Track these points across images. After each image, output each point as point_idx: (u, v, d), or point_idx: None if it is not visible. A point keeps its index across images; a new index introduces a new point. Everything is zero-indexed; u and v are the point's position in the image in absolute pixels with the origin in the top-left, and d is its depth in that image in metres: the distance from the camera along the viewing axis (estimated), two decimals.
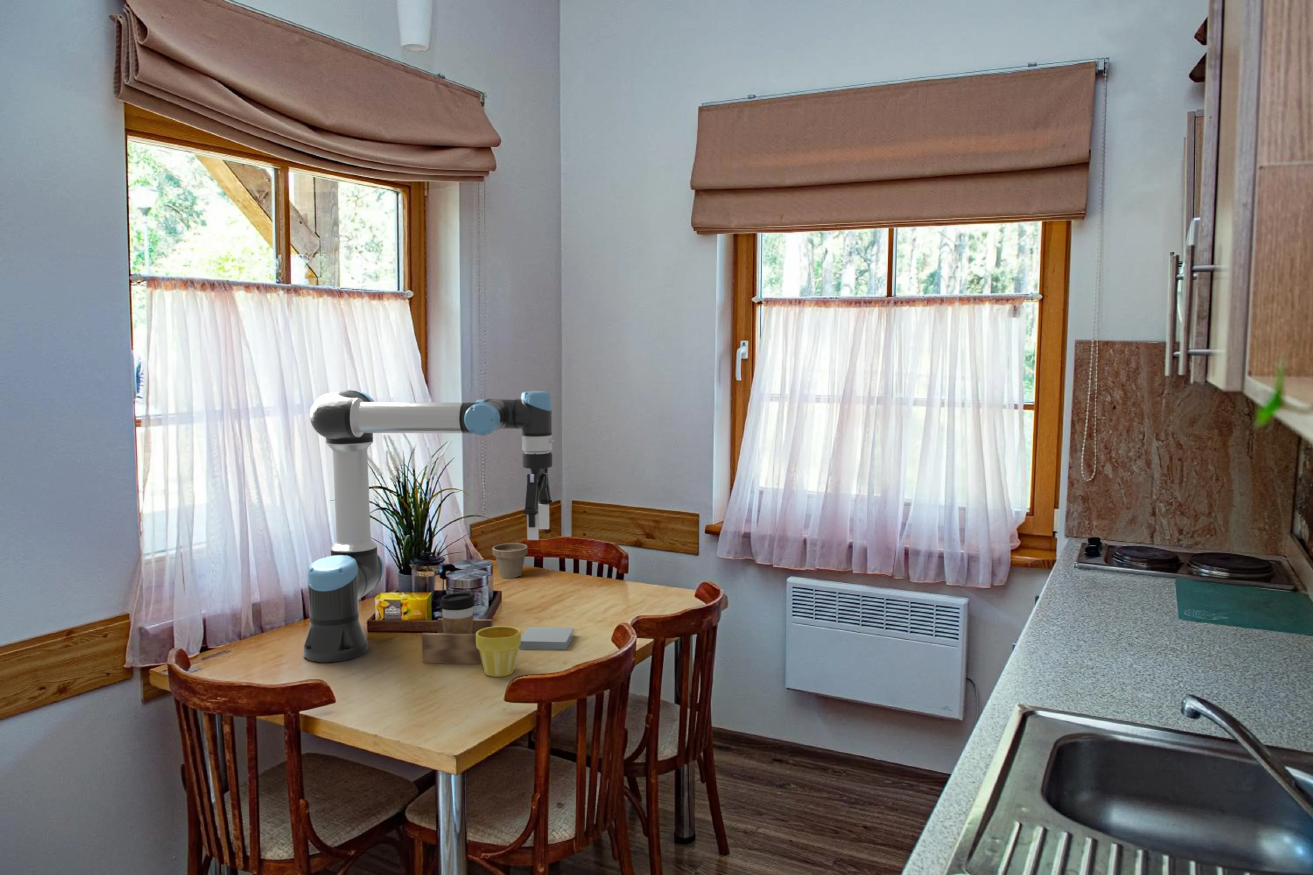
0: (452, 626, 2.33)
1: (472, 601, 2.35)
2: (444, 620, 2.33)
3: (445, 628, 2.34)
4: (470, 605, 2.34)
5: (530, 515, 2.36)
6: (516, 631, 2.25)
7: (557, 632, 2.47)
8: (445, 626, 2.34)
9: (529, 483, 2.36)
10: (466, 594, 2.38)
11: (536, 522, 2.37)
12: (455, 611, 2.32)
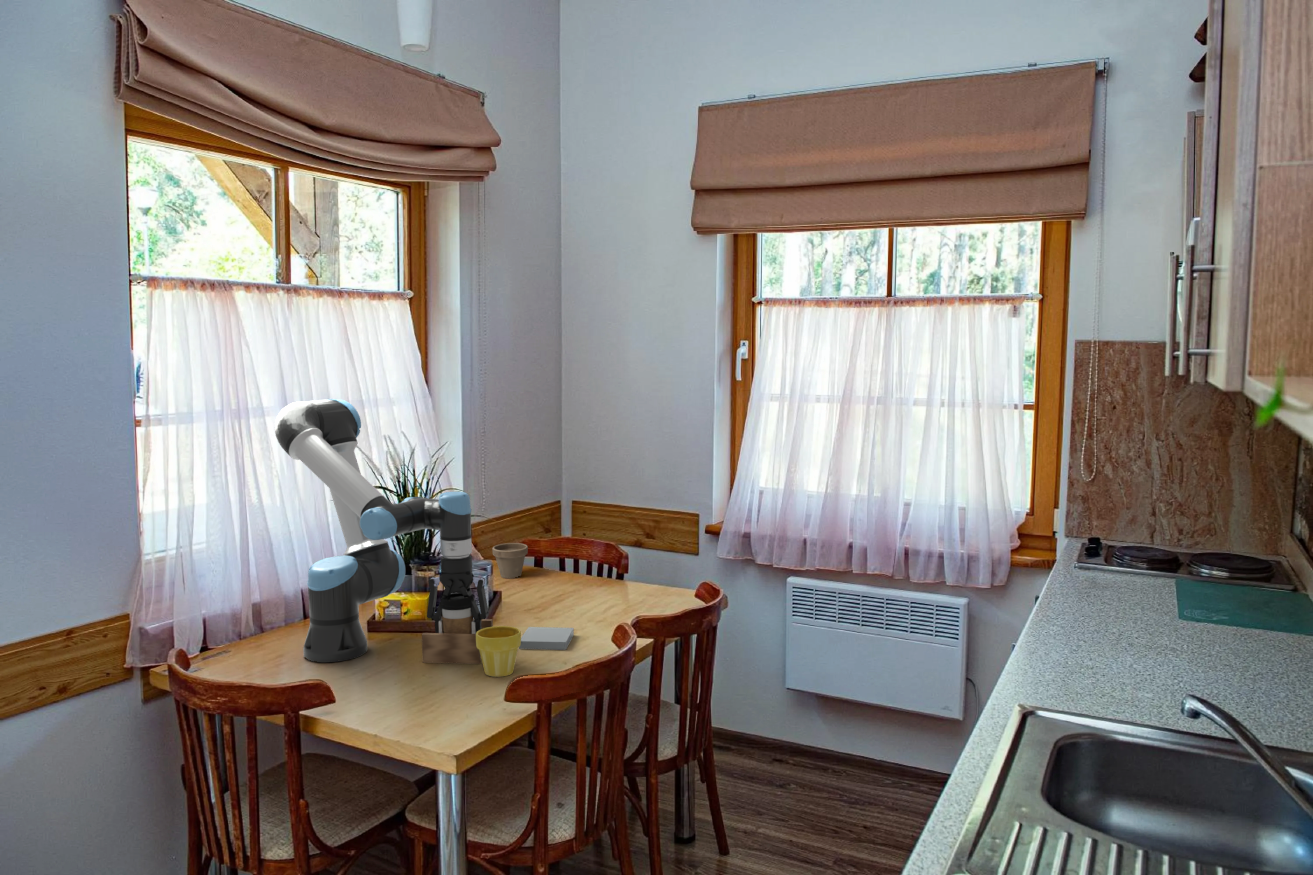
0: (452, 626, 2.33)
1: (472, 601, 2.35)
2: (444, 620, 2.33)
3: (445, 628, 2.34)
4: (470, 605, 2.34)
5: None
6: (516, 631, 2.25)
7: (557, 632, 2.47)
8: (445, 626, 2.34)
9: None
10: None
11: None
12: (455, 611, 2.32)
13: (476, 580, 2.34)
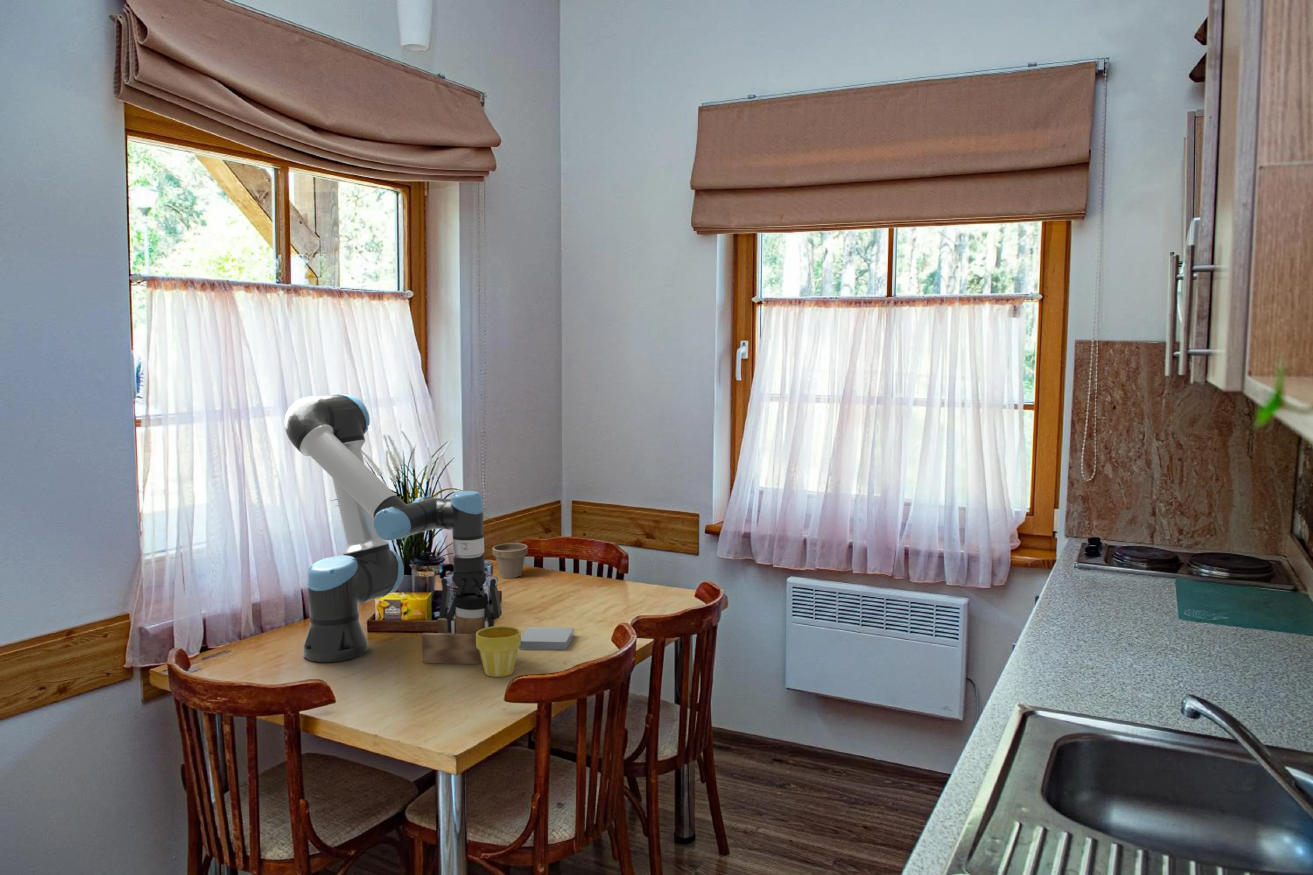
0: (465, 625, 2.32)
1: (486, 602, 2.34)
2: (457, 618, 2.33)
3: (457, 626, 2.33)
4: (484, 605, 2.33)
5: None
6: (516, 631, 2.25)
7: (557, 632, 2.47)
8: (458, 624, 2.33)
9: None
10: None
11: None
12: (469, 610, 2.31)
13: (489, 579, 2.34)
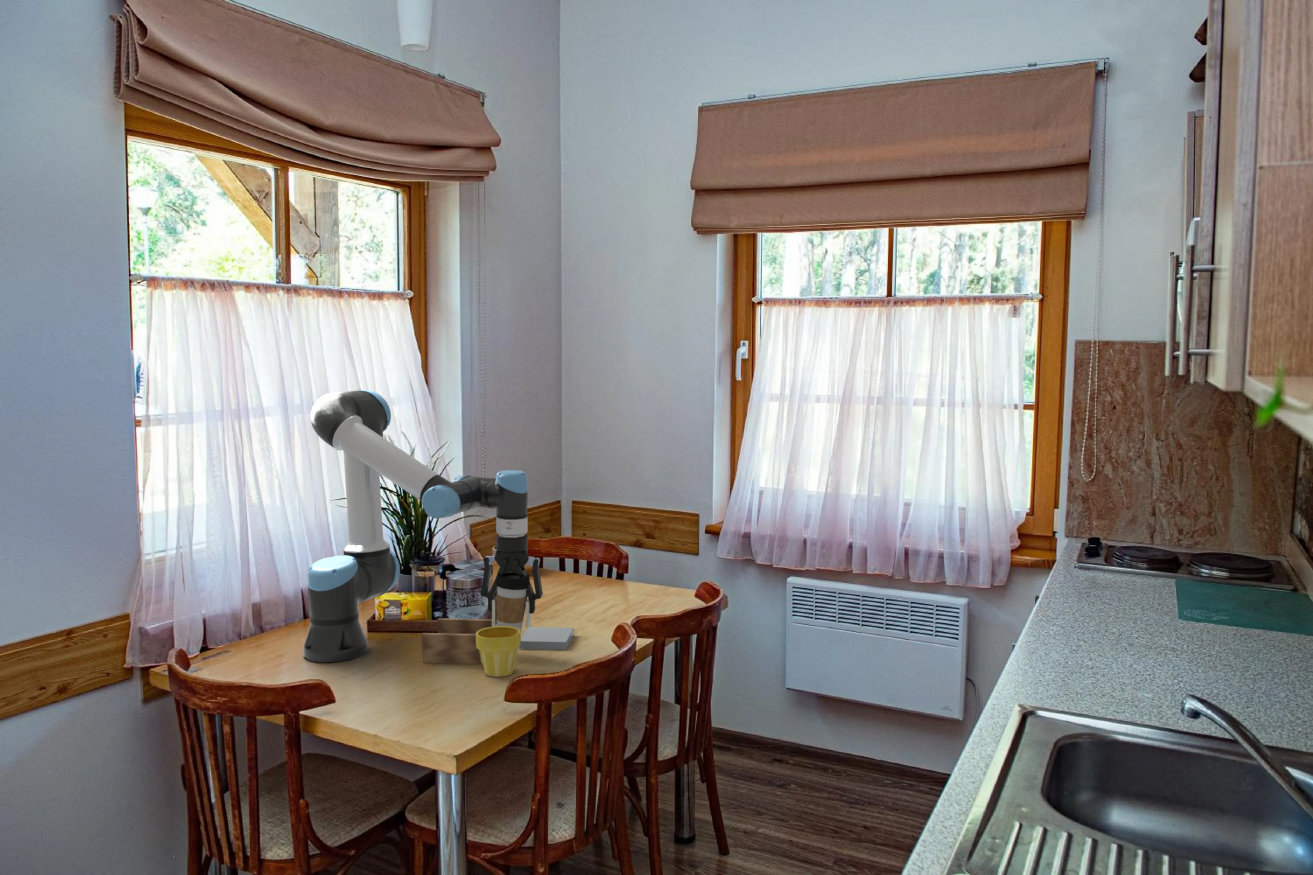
0: (506, 605, 2.31)
1: (528, 582, 2.33)
2: (498, 598, 2.32)
3: (498, 606, 2.32)
4: (526, 586, 2.32)
5: None
6: (516, 631, 2.25)
7: (557, 632, 2.47)
8: (499, 604, 2.32)
9: None
10: None
11: None
12: (510, 590, 2.30)
13: (531, 560, 2.33)
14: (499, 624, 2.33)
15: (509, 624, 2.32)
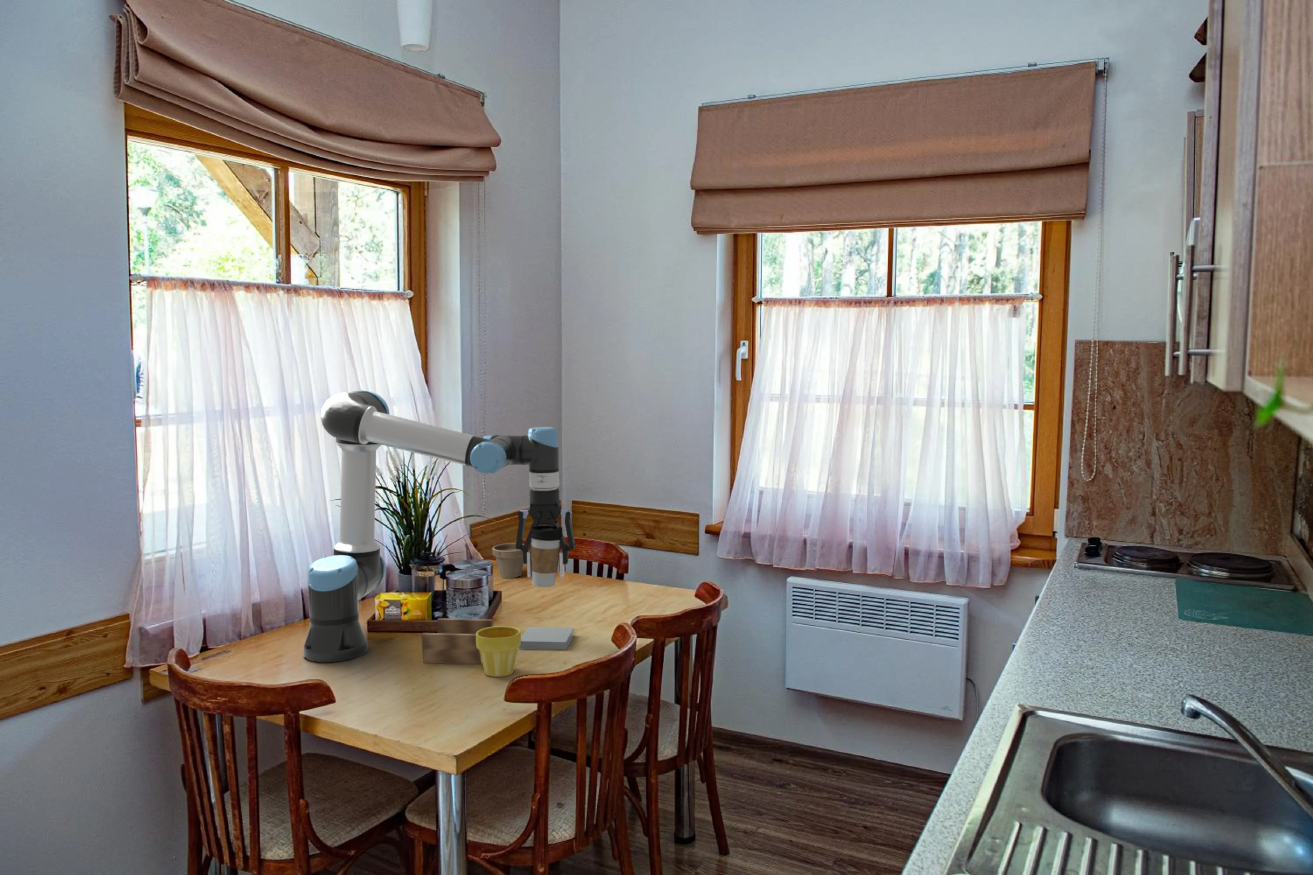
0: (541, 556, 2.40)
1: (561, 534, 2.42)
2: (533, 549, 2.41)
3: (533, 557, 2.41)
4: (559, 537, 2.41)
5: None
6: (516, 631, 2.25)
7: (557, 632, 2.47)
8: (533, 555, 2.41)
9: None
10: None
11: None
12: (545, 541, 2.40)
13: (564, 512, 2.42)
14: (534, 575, 2.42)
15: (544, 574, 2.41)
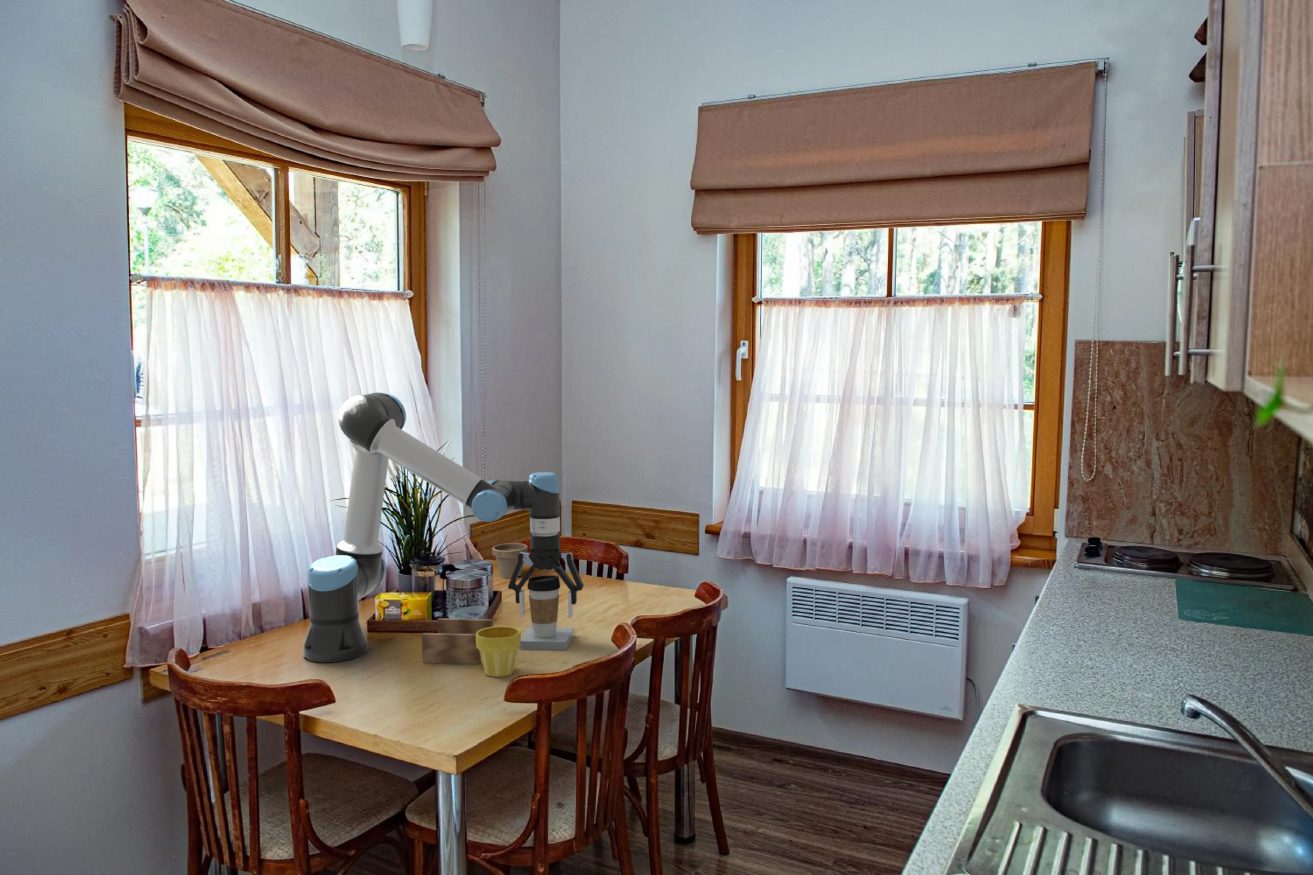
0: (540, 607, 2.42)
1: (558, 583, 2.44)
2: (531, 601, 2.43)
3: (532, 609, 2.43)
4: (556, 587, 2.43)
5: None
6: (516, 631, 2.25)
7: (557, 632, 2.47)
8: (532, 607, 2.43)
9: None
10: (552, 576, 2.47)
11: None
12: (542, 592, 2.41)
13: (564, 555, 2.43)
14: (535, 626, 2.43)
15: (544, 625, 2.43)
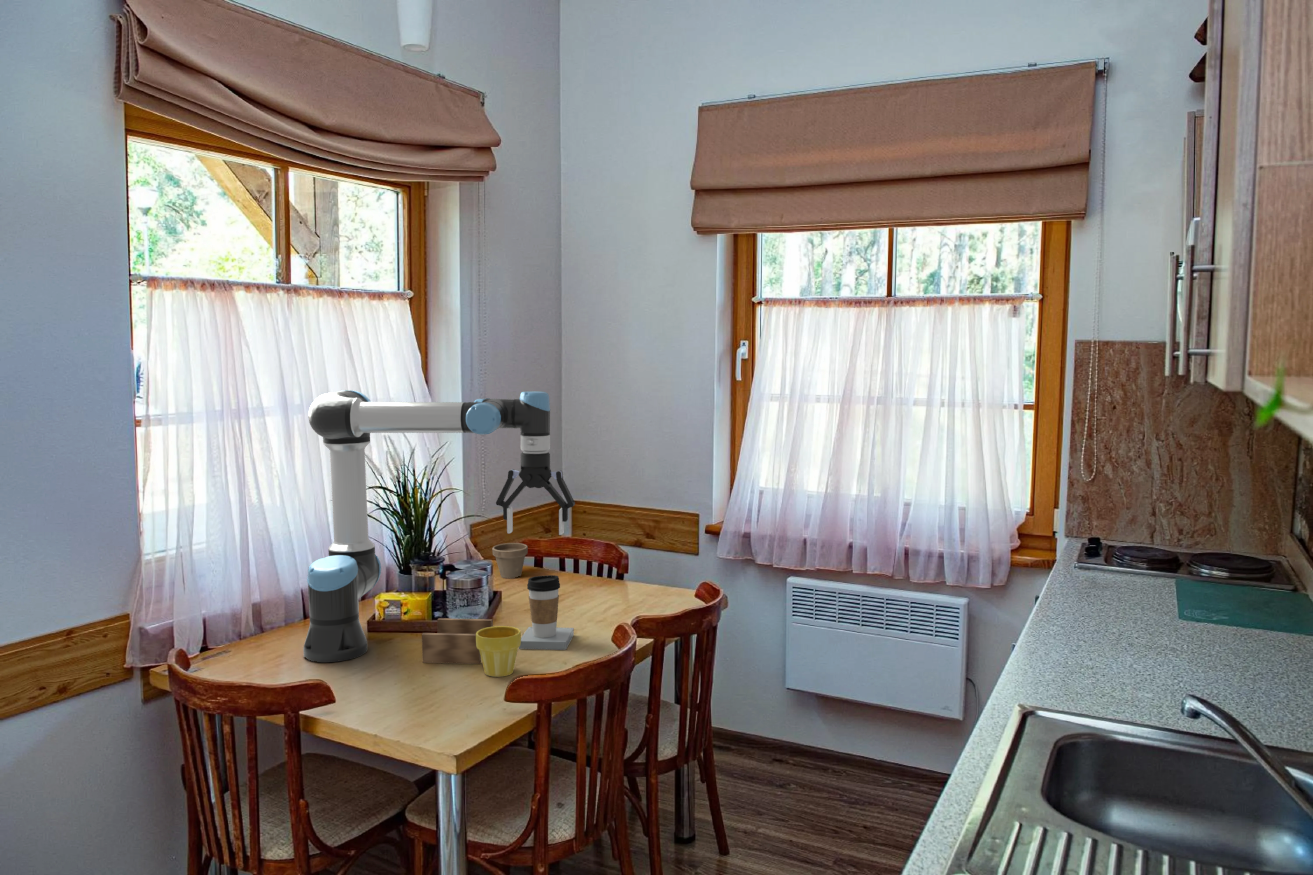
0: (539, 607, 2.42)
1: (558, 583, 2.44)
2: (531, 601, 2.43)
3: (532, 609, 2.43)
4: (556, 587, 2.43)
5: None
6: (516, 631, 2.25)
7: (557, 632, 2.47)
8: (532, 607, 2.43)
9: None
10: (551, 576, 2.47)
11: None
12: (542, 592, 2.41)
13: (554, 473, 2.44)
14: (535, 626, 2.43)
15: (544, 625, 2.43)
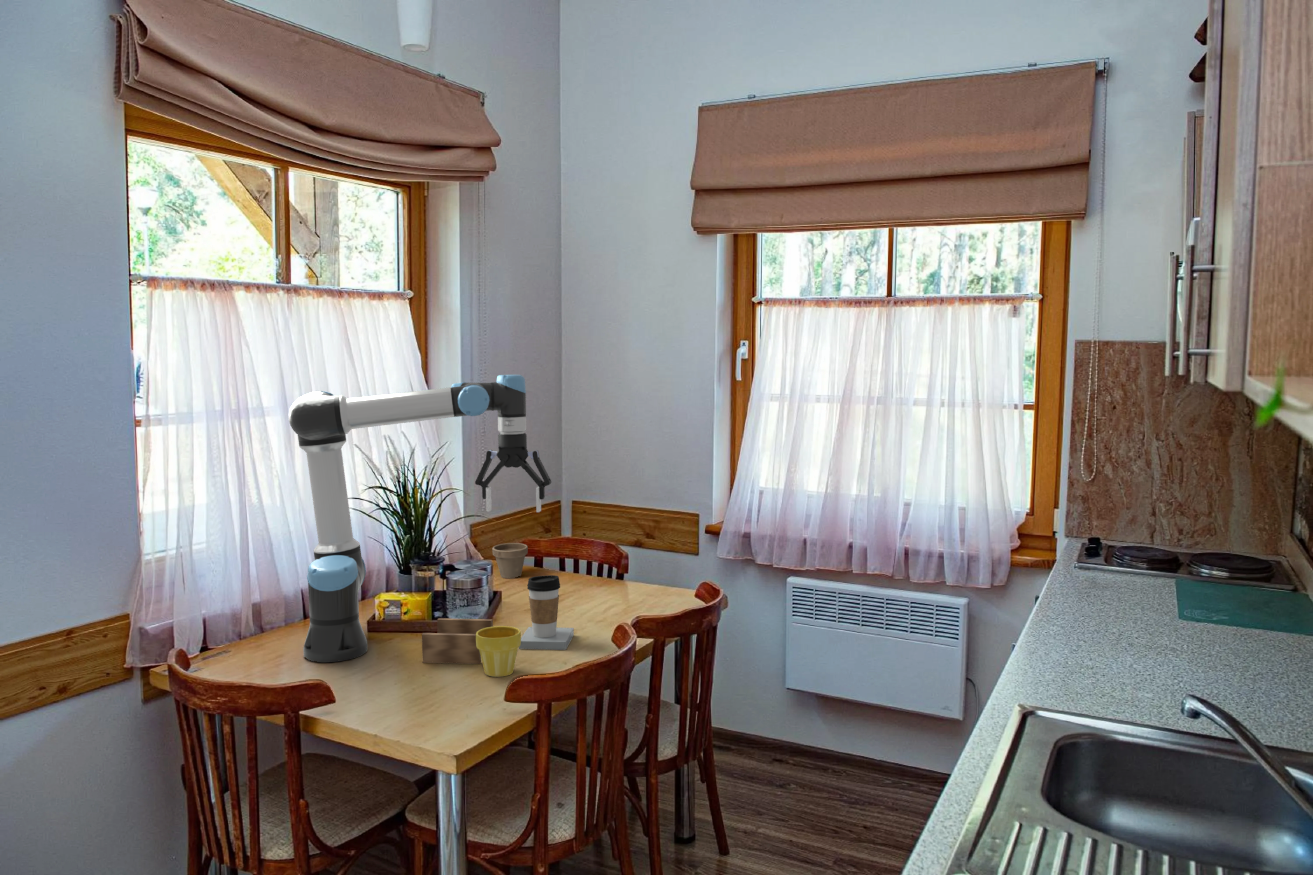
0: (539, 607, 2.42)
1: (558, 583, 2.44)
2: (531, 601, 2.43)
3: (532, 609, 2.43)
4: (556, 587, 2.43)
5: None
6: (516, 631, 2.25)
7: (557, 632, 2.47)
8: (532, 607, 2.43)
9: None
10: (551, 576, 2.47)
11: None
12: (542, 592, 2.41)
13: (530, 453, 2.54)
14: (535, 626, 2.43)
15: (544, 625, 2.43)
